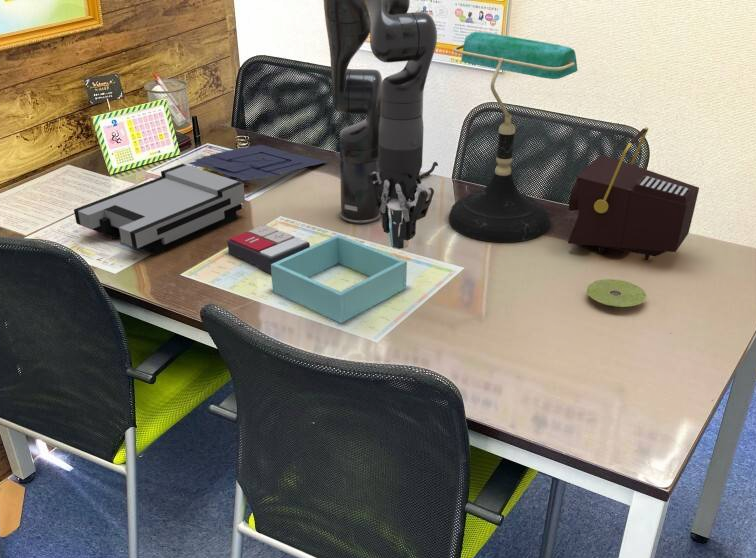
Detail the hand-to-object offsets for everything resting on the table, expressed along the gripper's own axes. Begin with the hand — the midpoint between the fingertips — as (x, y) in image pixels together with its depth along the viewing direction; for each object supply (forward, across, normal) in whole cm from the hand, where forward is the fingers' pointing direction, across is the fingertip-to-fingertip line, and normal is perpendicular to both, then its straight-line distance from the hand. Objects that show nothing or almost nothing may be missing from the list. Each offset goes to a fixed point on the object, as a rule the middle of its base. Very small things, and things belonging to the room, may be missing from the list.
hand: (398, 234), depth 155 cm
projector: (+17, -18, -55) cm, 60 cm away
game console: (+17, +66, +5) cm, 68 cm away
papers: (+17, +78, -34) cm, 87 cm away
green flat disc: (+17, -28, -33) cm, 46 cm away
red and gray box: (+17, +37, -1) cm, 41 cm away
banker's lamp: (+17, +11, -49) cm, 53 cm away
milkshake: (+2, 0, 0) cm, 2 cm away
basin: (+17, +15, 0) cm, 23 cm away
